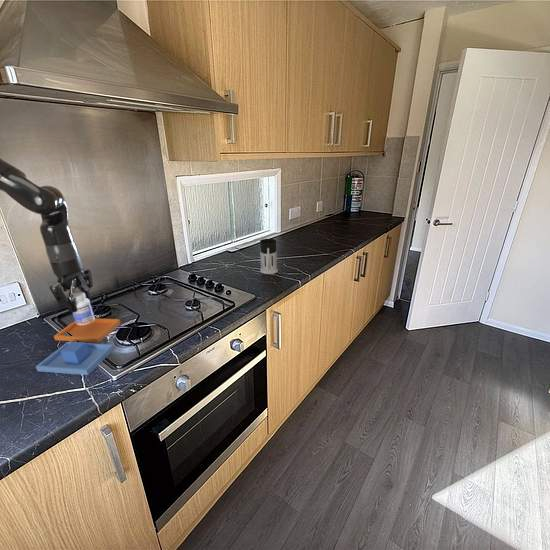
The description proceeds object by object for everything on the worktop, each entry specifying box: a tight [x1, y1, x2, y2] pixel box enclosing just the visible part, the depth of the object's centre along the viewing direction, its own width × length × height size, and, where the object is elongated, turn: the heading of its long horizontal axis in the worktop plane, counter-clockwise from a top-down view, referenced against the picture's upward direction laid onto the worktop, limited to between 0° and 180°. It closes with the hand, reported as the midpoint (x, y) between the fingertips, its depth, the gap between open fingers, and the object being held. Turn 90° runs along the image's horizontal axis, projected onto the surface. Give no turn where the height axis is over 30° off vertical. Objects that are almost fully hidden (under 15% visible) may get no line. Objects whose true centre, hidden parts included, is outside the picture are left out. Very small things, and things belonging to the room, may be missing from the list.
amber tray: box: [53, 317, 121, 344], centre depth 97 cm, size 15×11×2 cm
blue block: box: [60, 341, 90, 365], centre depth 83 cm, size 4×4×4 cm
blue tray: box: [35, 341, 115, 376], centre depth 83 cm, size 15×11×2 cm
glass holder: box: [259, 238, 279, 275], centre depth 137 cm, size 9×14×15 cm, turn 1°
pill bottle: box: [71, 291, 96, 325], centre depth 93 cm, size 5×5×10 cm
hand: (80, 306), depth 93 cm, fingers closed on pill bottle, 5 cm apart
